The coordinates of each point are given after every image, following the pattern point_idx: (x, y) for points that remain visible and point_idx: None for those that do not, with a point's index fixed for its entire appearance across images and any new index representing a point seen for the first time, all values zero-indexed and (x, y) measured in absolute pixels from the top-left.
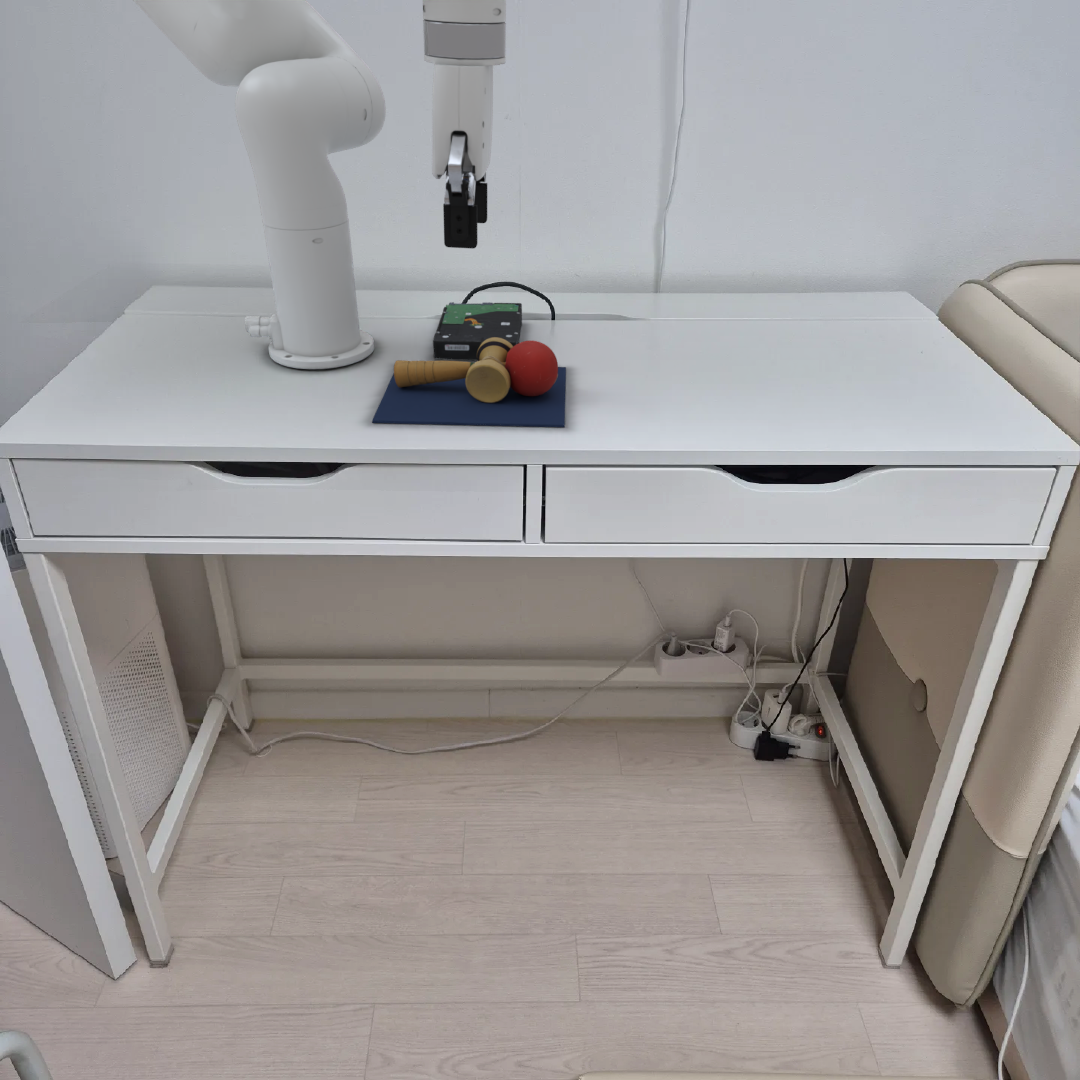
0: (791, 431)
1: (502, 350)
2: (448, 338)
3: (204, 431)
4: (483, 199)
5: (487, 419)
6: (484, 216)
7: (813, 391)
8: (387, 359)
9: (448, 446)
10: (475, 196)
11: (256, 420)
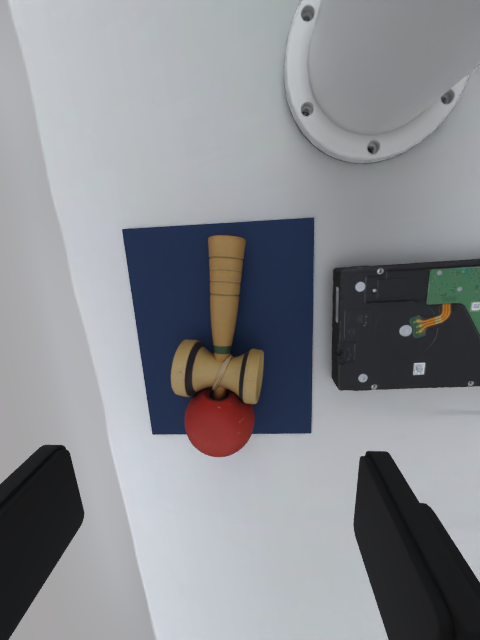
0: (180, 596)
1: (236, 392)
2: (352, 292)
3: None
4: (386, 623)
5: (150, 360)
6: (361, 547)
7: (268, 626)
8: (339, 194)
9: (87, 327)
10: (396, 613)
11: (100, 59)
